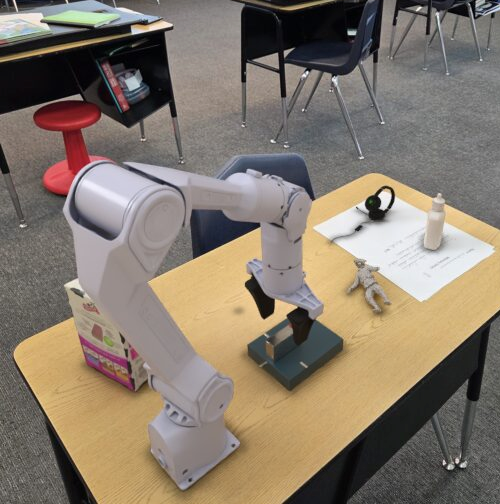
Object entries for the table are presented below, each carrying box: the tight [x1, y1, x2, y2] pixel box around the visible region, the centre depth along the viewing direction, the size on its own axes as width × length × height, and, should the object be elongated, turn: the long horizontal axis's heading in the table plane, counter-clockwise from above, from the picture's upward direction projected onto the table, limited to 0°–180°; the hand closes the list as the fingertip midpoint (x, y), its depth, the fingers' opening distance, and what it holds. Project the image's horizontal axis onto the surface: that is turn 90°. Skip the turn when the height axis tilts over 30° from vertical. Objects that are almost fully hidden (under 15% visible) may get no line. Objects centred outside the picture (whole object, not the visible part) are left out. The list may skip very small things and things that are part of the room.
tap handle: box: [266, 323, 298, 362], centre depth 85 cm, size 6×2×4 cm, turn 134°
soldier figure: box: [346, 258, 392, 314], centre depth 100 cm, size 8×5×12 cm
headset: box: [330, 185, 396, 243], centre depth 121 cm, size 7×7×20 cm
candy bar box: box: [63, 275, 148, 393], centre depth 82 cm, size 11×5×16 cm, turn 59°
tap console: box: [246, 317, 344, 392], centre depth 87 cm, size 14×10×3 cm
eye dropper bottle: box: [423, 192, 446, 251], centre depth 112 cm, size 4×6×12 cm
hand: (283, 328), depth 83 cm, fingers open, 7 cm apart
